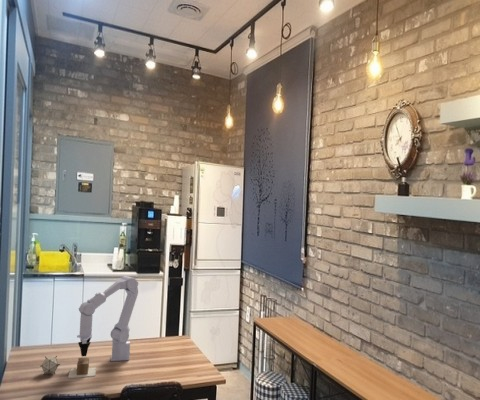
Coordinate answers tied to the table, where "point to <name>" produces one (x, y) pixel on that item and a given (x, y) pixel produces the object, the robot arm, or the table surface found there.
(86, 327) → the robot arm
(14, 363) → the table surface
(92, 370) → the mat
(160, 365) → the table surface
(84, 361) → the walnut block
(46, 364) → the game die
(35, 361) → the table surface
